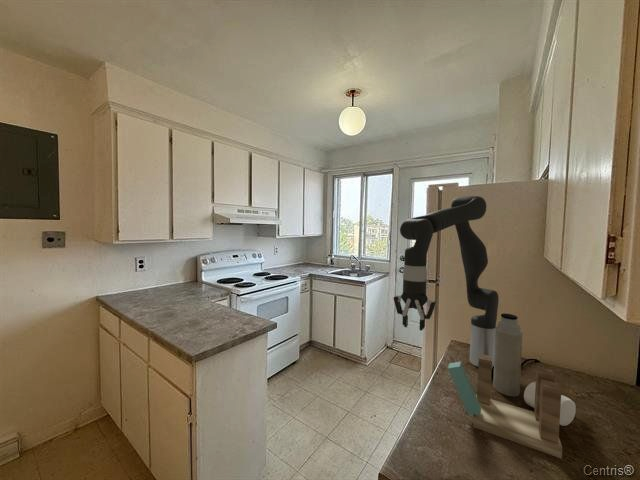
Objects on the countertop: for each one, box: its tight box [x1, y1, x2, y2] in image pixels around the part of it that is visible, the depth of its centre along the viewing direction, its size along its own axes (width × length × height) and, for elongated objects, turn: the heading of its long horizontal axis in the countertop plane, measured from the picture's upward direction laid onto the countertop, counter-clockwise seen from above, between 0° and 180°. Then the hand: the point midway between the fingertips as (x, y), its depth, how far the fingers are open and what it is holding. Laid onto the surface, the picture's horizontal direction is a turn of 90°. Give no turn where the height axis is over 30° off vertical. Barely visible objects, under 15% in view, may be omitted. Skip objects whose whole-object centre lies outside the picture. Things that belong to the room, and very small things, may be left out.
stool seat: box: [472, 354, 563, 459], centre depth 79 cm, size 13×20×18 cm, turn 58°
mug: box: [523, 381, 577, 427], centre depth 85 cm, size 12×10×8 cm
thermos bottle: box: [492, 312, 523, 397], centre depth 97 cm, size 8×8×28 cm
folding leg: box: [447, 361, 481, 416], centre depth 82 cm, size 4×4×14 cm
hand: (413, 327), depth 90 cm, fingers open, 4 cm apart
